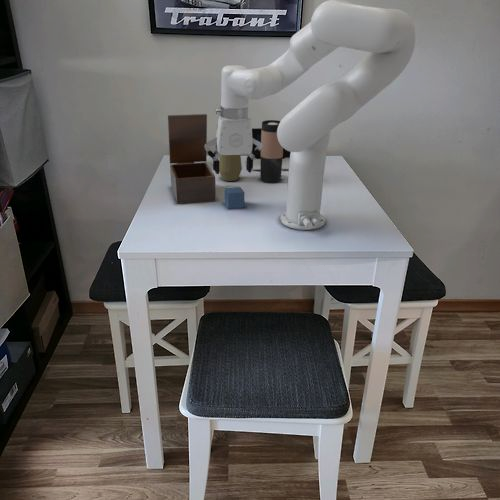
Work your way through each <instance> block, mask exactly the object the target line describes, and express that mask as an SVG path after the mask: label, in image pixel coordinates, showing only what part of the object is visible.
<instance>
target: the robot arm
mask: <svg viewBox="0 0 500 500" xmlns="http://www.w3.org/2000/svg"><path fill="white" fill-rule="evenodd" d="M415 46H416V27H415V24H414V21H413V19H412V17H411V16H410V14H409V13H407V12H406V11H404V10H402V9H399V8H384V7H383V8H382V7H376V6H375V7H374V6H368V5H361V4H354V3H352V2H350V1H347V0H326V1H323V2H322V3H320V4H319V5H317V7H316V8H315V10H314V11H313V13H312V15H311V19H310V21H309V22H308V23H307V24H306V25H305V26H303V27H302V28H301V29H300V30H298V31H297V32H295V33H294V34H293V35H292V36H291V38H290V39H289V47H288V49H287V50H286V51H285V52H284V53H283V54H282V55H281V56H280V57H277V59H276V60H274V61H273V62H271V63H270V64H268V65H267V66H262V67H257V68H256V67H255V68H250V69H249V68H248V67H246V66H244V65H237V64H235V65H234V64H231V65H230V64H229V65H224V66H223V67H222V68H221V73H220V75H221V76H220V79H221V80H220V82H221V83H220V106H219V108H215V114H216V115H219V117H218V119H217V124H216V132H215V138H213V139H211V140H209V141H207V143H206V144H204V148H205V150H206V151H207V155H208V156H209V157H210V158H211V159H212V169H213V172H215V174H216V175H219V174H220V171H219V159H220V156H221V155H240V156H243V155H247V157H246V164H245V165H246V167H245V169H246V171H247V173H249V174H250V173H252V169H253V159H256V158H255V156H256V155H257V154H258V153H259V152H260V150H261V148H262V146H263V144H262V143H261V142H259V141H257V140H256V139H254V138H252V128H253V126H252V119H251V118H250V117H249V99H250V100H261V99H264V98H266V97H269V96H273V95H276V94H278V93H280V92H281V91H283V90H284V89H285V88H287V87H288V86H290V85H291V84H293V83H295V81H297V80H298V79H299V78H301V77H302V76H303V75H304V74H305V73H306V72H308V71H309V70H310V69H311V68H312V67H313V66H315V64H317V63H319V62H320V61H321V60H323V59H324V58H325V57H327V56H328V55H330V54H331V53H333V52H334V51H336V50H337V49H338V48H340V47H341V48H345V49H346V48H347V49H352V50H356V51H360V52H361V51H362V52H367V53H369V54H368V55H367V56H365V57H364V58H363V59H361V60H360V61H359V62H358V63H356V65H354V67H352V68H351V69H350V70H349V71H348V72H346V73H345V74H343V75H342V76H341V77H339V78H338V79H337V80H333V81H331V82H328V83H325V84H323V85H320V86H319V87H318V88H316V89H314V90H313V91H312V92H311V93H310V94H309V95H307V96H306V97H305V98H304V99H303V100H302V101H300V102H299V103H298V104H297V105H296V106H295V107H293V108H292V109H291V110H290V111H289V112H288V113H286V114H285V116H283V118H282V119H280V120H279V121H280V123H279V126H278V129H277V138H278V141H279V143H280V145H281V146H282V147H283V148H284V149H286V150H287V151H290V152H291V153H290V161H289V170H288V179H287V181H288V182H287V194H286V195H287V196H286V211H284V212H283V213H282V214H281V215H280V223H281V224H283V225H284V226H285V227H287V228H290V229H293V230H301V231H311V230H316V229H320V228H322V227H323V226H324V225H325V223H326V218H325V216H324V215H323V214H321V209H322V198H323V197H322V196H323V195H322V194H323V185H324V177H325V168H326V158H327V151H328V146H329V142H330V138H331V131H332V130H333V129H335V128H336V127H337V126H338V125H340V124H342V123H343V122H345V121H347V120H349V119H350V118H352V117H353V116H354V115H355V114H356V113H357V112H359V110H360V109H362V108H363V107H364V106H366V105H367V104H368V103H369V102H370V101H372V100H373V99H374V98H375V97H376V96H378V95H380V93H381V92H382V91H384V89H387V87H389V86H390V85H391V84H392V83H393V82H394V81H396V79H398V77H399V76H400V75H402V73H403V72H404V70H405V69H406V67H408V65H409V63H410V61H411V59H412V56H413V54H414V50H415ZM252 143H253V144H255V145H256V148H255V149H254V150H253V151H252ZM213 146H215V151H212V150H211V148H212V147H213Z"/></svg>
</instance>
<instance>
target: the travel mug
mask: <svg viewBox="0 0 500 500" xmlns="http://www.w3.org/2000/svg"><path fill="white" fill-rule="evenodd" d="M280 121H281V120H277V119H276V120H275V119H265V120H263V121H262V122H261V128H262V133H261V143H262V144H263V146H262V148H261V170H260V181H261V182H263V183H267V184H275V183H280V182H281V181H282V180H281V179H282V171H283V170H282V159H283V147H282V146H281V145H280V143H279V141H278V138H277V129H278V126H279V123H280Z"/></svg>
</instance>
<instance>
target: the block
mask: <svg viewBox="0 0 500 500" xmlns="http://www.w3.org/2000/svg"><path fill="white" fill-rule="evenodd" d="M245 193H246V192H245V191H244V190H243V188H242V187H241V186H235V187H233V186H232V187H224V205H225V206H226V208H227V210H235V209H236V210H237V209H245V195H246V194H245Z"/></svg>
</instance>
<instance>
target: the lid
mask: <svg viewBox="0 0 500 500" xmlns="http://www.w3.org/2000/svg"><path fill="white" fill-rule="evenodd" d="M167 128H168V152H169V154H168V155H169V164H177V163H187V162H194V163H203V162H207V155H208V153H207V151H206V150H205V148H204V144H206V143H207V142H208V114H207V113H197V114H196V113H195V114H169V115H167Z"/></svg>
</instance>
